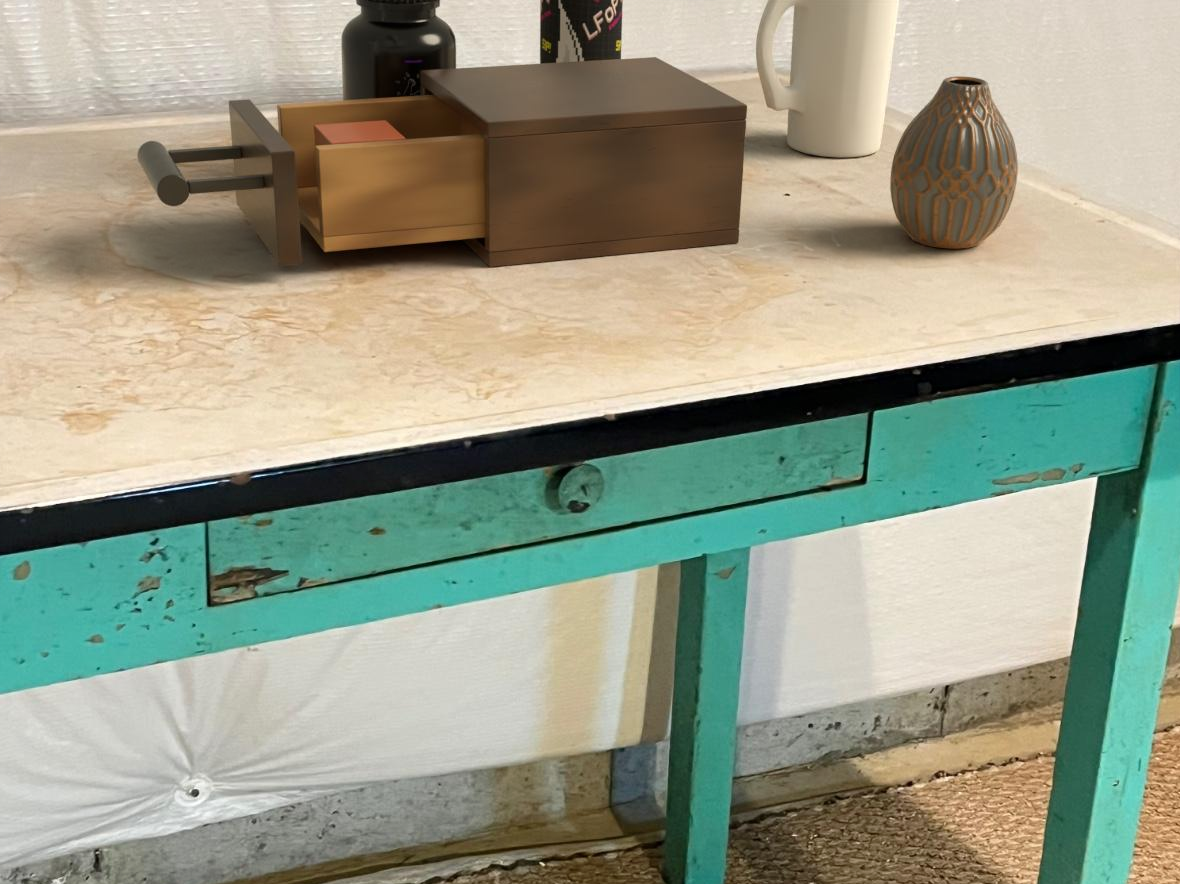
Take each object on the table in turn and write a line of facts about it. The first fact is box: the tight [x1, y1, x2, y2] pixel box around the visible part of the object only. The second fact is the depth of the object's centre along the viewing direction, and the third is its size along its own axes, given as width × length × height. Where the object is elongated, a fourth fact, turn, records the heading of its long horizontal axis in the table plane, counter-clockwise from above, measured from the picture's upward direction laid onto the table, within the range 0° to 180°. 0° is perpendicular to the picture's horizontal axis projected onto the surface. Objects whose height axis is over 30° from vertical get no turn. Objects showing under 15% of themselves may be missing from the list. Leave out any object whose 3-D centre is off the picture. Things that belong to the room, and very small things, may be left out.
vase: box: [889, 75, 1019, 250], centre depth 94 cm, size 7×7×9 cm
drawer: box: [137, 95, 485, 267], centre depth 91 cm, size 19×11×6 cm, turn 111°
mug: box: [755, 0, 900, 158], centre depth 110 cm, size 10×7×12 cm, turn 118°
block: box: [314, 120, 405, 146], centre depth 91 cm, size 4×4×4 cm
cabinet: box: [420, 56, 748, 268], centre depth 95 cm, size 15×13×8 cm
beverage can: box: [539, 0, 624, 64], centre depth 119 cm, size 6×6×12 cm
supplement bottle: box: [341, 0, 457, 100], centre depth 102 cm, size 7×7×12 cm
